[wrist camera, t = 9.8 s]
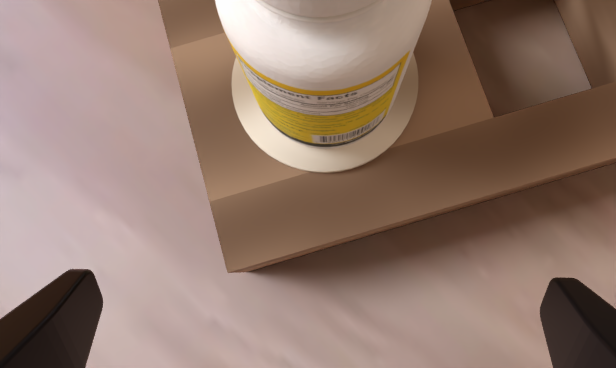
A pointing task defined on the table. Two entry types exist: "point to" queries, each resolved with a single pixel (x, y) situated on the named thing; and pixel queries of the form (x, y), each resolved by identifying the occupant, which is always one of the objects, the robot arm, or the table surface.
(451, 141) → the pocket block
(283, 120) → the supplement bottle
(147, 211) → the table surface
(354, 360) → the table surface
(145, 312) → the table surface
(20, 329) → the robot arm
